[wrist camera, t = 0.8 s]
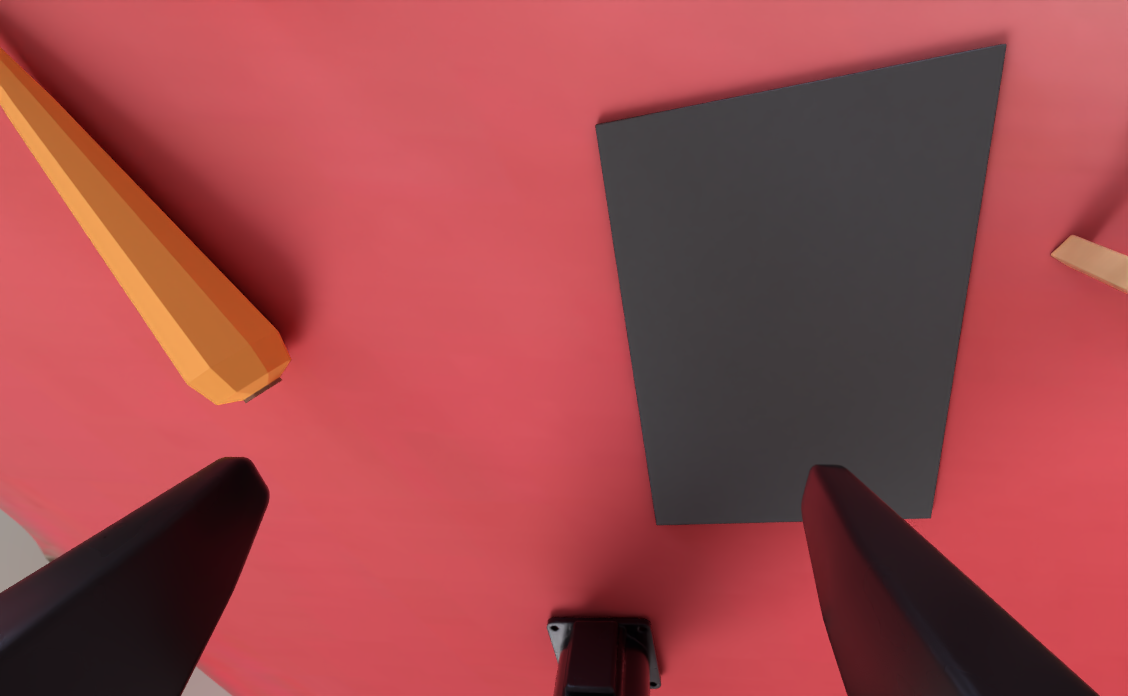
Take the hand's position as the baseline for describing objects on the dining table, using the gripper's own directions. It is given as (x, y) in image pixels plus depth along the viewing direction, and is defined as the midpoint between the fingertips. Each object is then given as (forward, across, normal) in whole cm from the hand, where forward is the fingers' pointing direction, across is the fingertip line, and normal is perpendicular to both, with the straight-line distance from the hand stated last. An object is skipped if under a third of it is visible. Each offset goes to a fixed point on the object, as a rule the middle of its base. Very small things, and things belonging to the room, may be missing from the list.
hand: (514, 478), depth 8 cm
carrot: (+15, +22, -3) cm, 27 cm away
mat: (+14, -8, +7) cm, 17 cm away
